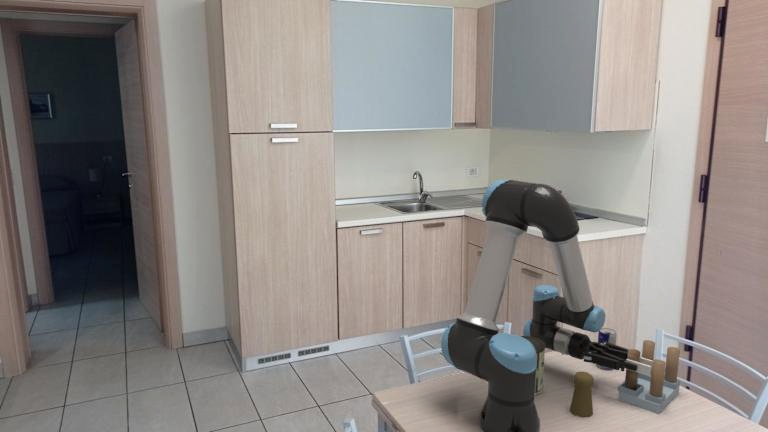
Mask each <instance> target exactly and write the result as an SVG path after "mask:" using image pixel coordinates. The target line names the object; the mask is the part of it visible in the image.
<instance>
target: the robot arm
mask: <svg viewBox="0 0 768 432" xmlns="http://www.w3.org/2000/svg"><path fill="white" fill-rule="evenodd" d="M481 207H482V208H481V210H482V211H481V212H482V214H483V215H484V217H485V221H484V223H485V225H486V227H487V229H488V231H487V234H486V238H485V241H484V244H483V248H482V251H481V255H480V259H479V262H478V265H477V269H476V272H475V276H474V279H473V283H472V286H471V289H470V292H469V296H468V300H467V303H466V307H465V310H464V312H463V313H462V314H460V315H458V316H457V317H456V321H455V322H451V323H450V324H449V325H447V328H445V330H444V331H443V334H442V337H441V343H440V344H441V345H440V346H441V347H440V348H441V349H440V350H441V353H442V356H443V359H444V360H445V362H447V363H448V364H449V365H451V366H453V367H455V369H457V370H460V371H464V372H466V373H468V374H470V375H472V376H475V377H476V378H479V379H480V380H483V381H485V382H487V383H488V386H487V388H488V389H487V396H486V399H485V402H484V404H483V406H482V409H481V411H480V419H479V424H480V428H481V429H482V431H484V432H540V428H541V420H540V417H539V414H538V410H537V406H536V403H535V395H534V393H535V377H536V367H537V361H536V350H535V347H534V346H533V345H532V343H531V342H529V341H528V340H527V339H525V338H523V337H521V336H530V337H535V338H538V339H540V340H542V341H543V342H544V343H545V344H546V347H545V349H548V350H551V351H553V352H557V353H560V354H561V355H563V356H569V357H572V358H575V359H576V360H577V359H578V360H583V362H584V363H590V364H594V365H596V364H598V365H601V366H605V367H608V368H611V370H616V371H620V372H625V370H626V369H628V370H631V371H634V372H637V373H641V374H644V375H647V376H650V375H651V371H652V362H653V360H649V359H646V358H643V357H642V356H640V362H636V361H633V360H630V359H627V356H628V350H629V348H626V347H623V346H620V345H617V344H616V345H614V344H611V343H609V342H607V341H602V343H601V344H600V343H598V341H592V340H591V339H590V336H589V335H587V334H586V333H585V334H584V333H581V332H579V331H577V332H576V331H575V330H572V329H568V328H565V327H561V326H558V323H561V324H565V325H568V326H571V327H574V328H577V329H580V330H582V331H588V332H591V333H598V332H599V331H600V330H601V328H604V324H605V322H606V311H605V310H604V309H603V308H602V307H599V306H597V305H595V304H594V300H593V297H592V293H591V288H590V285H589V284H590V283H589V280H588V275H587V272H586V268H585V264H584V260H583V255H582V251H581V247H580V242H579V238H578V235H579V233H580V225H579V222H578V219H577V218H578V217H577V215H576V213H575V211H574V210H573V207H572V206H571V204H570V203H569V202H568V200H567V198H565V196H564V195H563V194H561V192H560V191H559V190H557V189H556V188H555V187H553V186H551V185H548V184H545V183H536V182H528V181H520V180H515V179H500V180H496V181H494V182H493V183H491V184H490V185H489V186H488V187H487V189H486V190H485V191H484V194H483V197H482V201H481ZM529 227H535V228H537V229H539V230H540V232H541V235H542V237H543V239H544V240H545V241H546V242H548V244H549V249H550V251H551V256H552V259H553V260H552V261H553V263H554V266H555V271H556V274H557V277H558V282H559V284H560V287H561V292H562V295H563V296H560V291H559V289H558V288H557V287H556V286H554V285H551V284H550V285H549V284H541V285H538V286H535V288H534V289H533V295H532V296H533V297H532V318H530V319H528V320H527V321H526V322H525V324H524V328H523V331H522V335H518V334H514V333H512V334H509V333H507V332H501V333H499V330H500V329H499V327H498V325H497V323H496V320H497V316H498V313H499V309H500V306H501V302H502V299H503V296H504V292H505V288H506V285H507V282H508V278H509V275H510V271H511V267H512V265H513V260H514V257H515V253H516V250H517V246H518V243H519V239H520V238H521V237H523V236H525V235H527V232H528V229H529Z"/></svg>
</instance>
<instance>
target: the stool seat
mask: <svg viewBox="0 0 768 432" xmlns="http://www.w3.org/2000/svg"><path fill="white" fill-rule="evenodd" d="M655 347H656V342H654V341H653V340H649V339H645V340H643V341H642V349H641V350H642V351H641V357H643V358H646V359H649V360H653V362H652V371H651V375H650V376H647V375H644V374H641V373H638V382H637V390H636V391H634V390H631V389H629V388H626V387H625V379H624V380H623V381H622V382H621V383H619V384H618V385H617V391H618V396H617V397H618V400H619V401H621V402H625V403H628V404H629V405H633V406H636V407H638V408H641V409H644V410H648V411H650V412H652V413H653V412H654V413H656V414H658V415H659V414H660V413H661V412H662V411H663V410H664V409H665V408H666V407H667V406H668V405H669V404H670V403H671V402H672V401H673V400H674V398H675V397H676V396H677V395H678V394H679V393H680V384H681V380H680V379H678V374H679V373H678V372H679V364H680V363H679V361H680V353H681V350H680V348H678V347H674V346H668V347H667V351H666V359H665V361H664V360H662V359H655V349H656V348H655Z"/></svg>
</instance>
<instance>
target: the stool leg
mask: <svg viewBox="0 0 768 432" xmlns="http://www.w3.org/2000/svg"><path fill="white" fill-rule="evenodd" d="M628 349H629V348H628ZM640 357H641V351H640V350H638V349H633V348H631V349H629V350H628V356H627V359H630V360H633V361H636V362H640ZM624 380H625V387H626V388H629V389H631V390H634V391H636V390H637V382H638V373H637V372H634V371H631V370H628V369H625V378H624Z"/></svg>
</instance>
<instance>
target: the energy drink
mask: <svg viewBox="0 0 768 432" xmlns="http://www.w3.org/2000/svg"><path fill="white" fill-rule="evenodd" d="M597 333H598V334H597V342H598V343H600V344H601V343H602V341H607V342H609V343H611V344H614V345H617V335H618V333H617V331H616V330H615V329H612V328H609V327H602V328H601V330H600V331H598V332H597ZM595 365H596V367H597V368H599V369H601V370H604V371H605V370H606V371H611V370H612V369H611V368H608V367H605V366H601V365H598V364H595Z"/></svg>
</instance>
